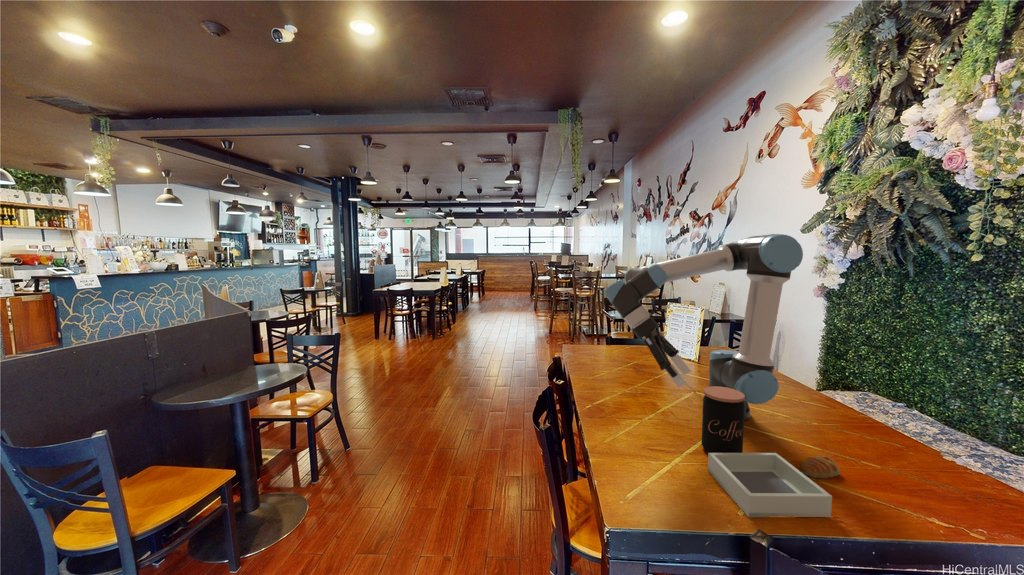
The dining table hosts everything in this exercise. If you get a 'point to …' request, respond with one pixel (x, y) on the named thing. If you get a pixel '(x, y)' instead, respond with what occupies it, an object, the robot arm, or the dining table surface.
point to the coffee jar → (723, 420)
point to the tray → (768, 485)
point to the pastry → (819, 467)
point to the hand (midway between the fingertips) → (685, 378)
